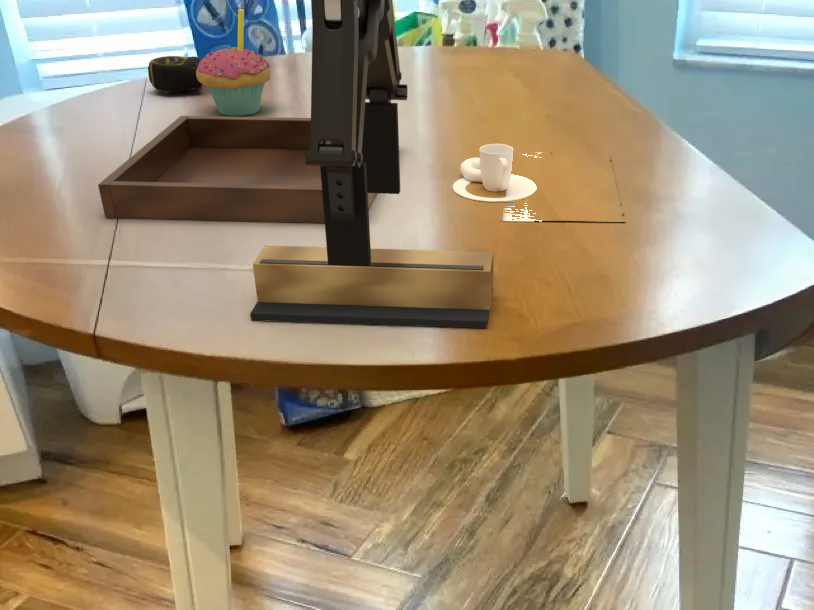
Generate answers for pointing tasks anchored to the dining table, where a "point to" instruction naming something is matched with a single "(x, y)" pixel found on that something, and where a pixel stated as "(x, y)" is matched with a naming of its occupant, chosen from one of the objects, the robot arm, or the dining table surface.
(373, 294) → the grooved wooden beam
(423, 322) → the mat
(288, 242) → the dining table surface
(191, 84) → the tape measure
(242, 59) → the cupcake
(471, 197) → the teacup and saucer
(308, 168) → the box
